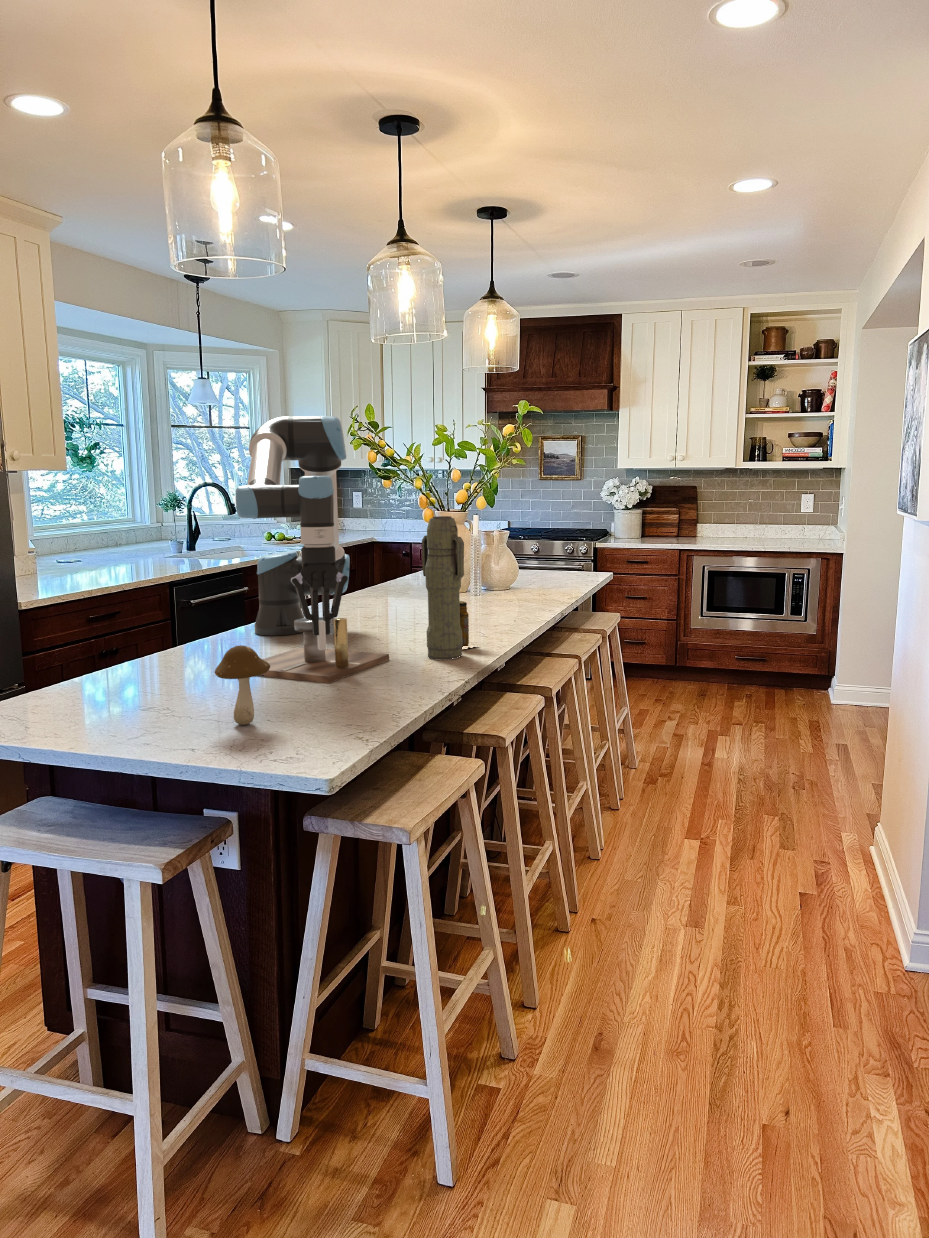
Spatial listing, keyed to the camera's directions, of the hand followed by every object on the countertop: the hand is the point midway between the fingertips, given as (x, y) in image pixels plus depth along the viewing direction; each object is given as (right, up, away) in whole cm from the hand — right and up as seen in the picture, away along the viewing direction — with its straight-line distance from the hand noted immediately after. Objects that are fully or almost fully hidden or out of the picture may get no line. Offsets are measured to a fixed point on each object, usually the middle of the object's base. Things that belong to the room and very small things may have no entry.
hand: (322, 648), depth 202 cm
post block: (-4, -5, +12) cm, 14 cm away
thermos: (+28, -3, +21) cm, 35 cm away
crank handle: (0, -3, +9) cm, 10 cm away
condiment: (+31, -1, +33) cm, 45 cm away
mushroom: (-8, -13, -36) cm, 39 cm away
